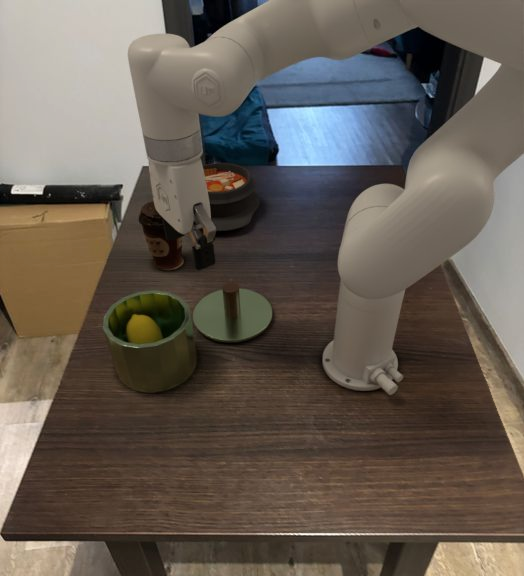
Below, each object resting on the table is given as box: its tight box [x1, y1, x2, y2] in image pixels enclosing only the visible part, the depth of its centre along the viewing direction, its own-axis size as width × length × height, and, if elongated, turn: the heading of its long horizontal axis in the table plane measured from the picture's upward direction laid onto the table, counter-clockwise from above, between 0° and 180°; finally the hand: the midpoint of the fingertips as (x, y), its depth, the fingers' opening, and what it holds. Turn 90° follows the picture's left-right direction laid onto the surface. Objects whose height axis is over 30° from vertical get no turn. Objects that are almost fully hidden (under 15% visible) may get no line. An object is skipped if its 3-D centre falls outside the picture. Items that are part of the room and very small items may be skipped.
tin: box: [102, 289, 198, 394], centre depth 87 cm, size 14×14×10 cm
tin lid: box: [192, 281, 273, 343], centre depth 96 cm, size 15×15×7 cm
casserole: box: [194, 162, 260, 232], centre depth 124 cm, size 25×19×8 cm
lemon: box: [126, 314, 163, 344], centre depth 89 cm, size 6×6×8 cm
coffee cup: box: [138, 200, 184, 271], centre depth 107 cm, size 9×8×13 cm
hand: (190, 251), depth 82 cm, fingers open, 9 cm apart
